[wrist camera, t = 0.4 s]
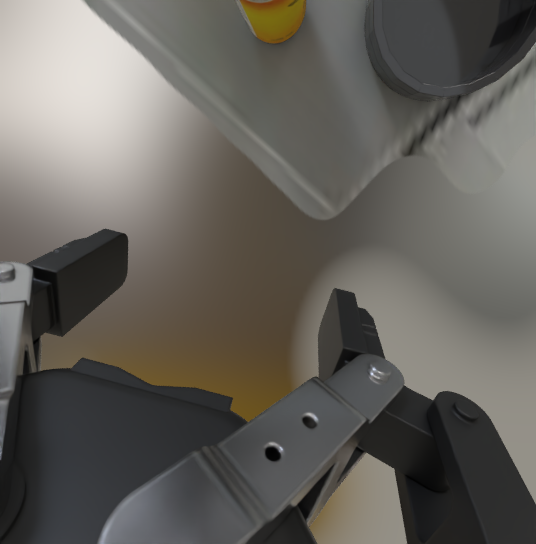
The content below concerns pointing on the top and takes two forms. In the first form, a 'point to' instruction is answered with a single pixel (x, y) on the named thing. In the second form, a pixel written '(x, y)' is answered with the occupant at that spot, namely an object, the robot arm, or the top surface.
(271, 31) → the beer can
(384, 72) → the dark grey bowl
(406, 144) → the top surface
